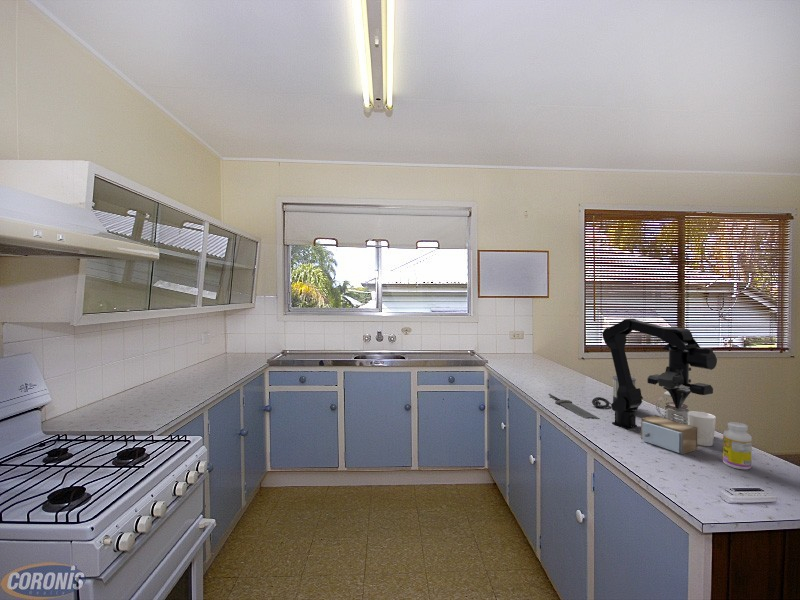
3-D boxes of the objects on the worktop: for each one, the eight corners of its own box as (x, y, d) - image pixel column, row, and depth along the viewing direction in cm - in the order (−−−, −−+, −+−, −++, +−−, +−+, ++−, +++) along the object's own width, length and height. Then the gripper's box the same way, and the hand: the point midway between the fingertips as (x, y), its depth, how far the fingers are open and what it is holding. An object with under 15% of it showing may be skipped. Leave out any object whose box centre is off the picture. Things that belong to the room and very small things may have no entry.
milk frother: (640, 414, 168) (640, 380, 168) (603, 413, 169) (604, 380, 168) (622, 404, 183) (622, 373, 182) (588, 404, 183) (588, 373, 183)
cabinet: (641, 439, 140) (641, 418, 140) (655, 435, 143) (655, 415, 143) (682, 453, 127) (683, 431, 127) (697, 449, 131) (697, 427, 130)
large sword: (585, 422, 161) (585, 417, 161) (542, 396, 196) (542, 392, 196) (601, 420, 162) (601, 416, 162) (555, 395, 197) (555, 392, 197)
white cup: (703, 448, 132) (704, 419, 132) (681, 439, 140) (681, 412, 139) (720, 445, 134) (721, 417, 134) (698, 437, 142) (698, 410, 141)
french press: (697, 435, 144) (698, 368, 143) (662, 432, 146) (663, 367, 145) (683, 426, 153) (684, 363, 153) (651, 424, 156) (652, 362, 155)
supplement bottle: (722, 458, 124) (723, 419, 123) (750, 464, 119) (751, 423, 119) (722, 466, 118) (723, 424, 118) (752, 472, 114) (752, 429, 114)
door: (640, 440, 137) (640, 421, 137) (643, 439, 138) (644, 420, 138) (680, 454, 126) (680, 433, 126) (683, 453, 127) (684, 432, 127)
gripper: (637, 361, 141) (637, 404, 141) (693, 371, 123) (692, 419, 124) (657, 359, 145) (656, 400, 145) (714, 368, 128) (713, 415, 128)
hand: (677, 408), depth 136 cm, fingers closed
